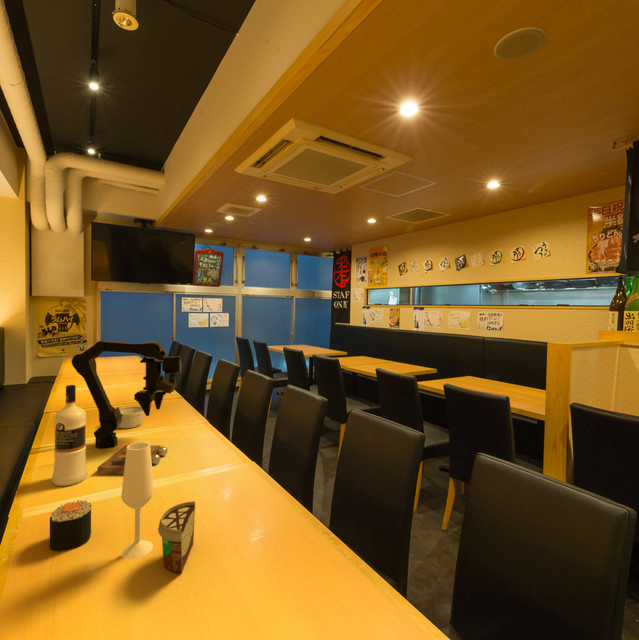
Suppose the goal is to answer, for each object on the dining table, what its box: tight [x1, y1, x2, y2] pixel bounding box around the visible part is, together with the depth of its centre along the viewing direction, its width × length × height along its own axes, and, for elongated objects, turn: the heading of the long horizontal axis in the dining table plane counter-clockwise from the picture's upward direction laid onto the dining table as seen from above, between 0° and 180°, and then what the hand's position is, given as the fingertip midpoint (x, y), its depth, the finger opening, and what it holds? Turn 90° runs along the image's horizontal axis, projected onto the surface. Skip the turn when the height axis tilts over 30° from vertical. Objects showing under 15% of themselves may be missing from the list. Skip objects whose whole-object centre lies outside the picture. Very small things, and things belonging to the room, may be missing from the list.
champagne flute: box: [120, 441, 155, 560], centre depth 84 cm, size 7×7×24 cm
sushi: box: [49, 499, 93, 552], centre depth 87 cm, size 8×8×8 cm
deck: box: [97, 444, 162, 476], centre depth 130 cm, size 13×19×4 cm
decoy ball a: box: [158, 446, 169, 457], centre depth 136 cm, size 3×3×3 cm
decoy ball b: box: [151, 454, 161, 465], centre depth 129 cm, size 3×3×3 cm
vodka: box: [51, 384, 89, 487], centre depth 115 cm, size 9×9×30 cm
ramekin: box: [117, 405, 145, 429], centre depth 170 cm, size 13×13×7 cm
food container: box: [157, 501, 196, 575], centre depth 81 cm, size 12×6×10 cm, turn 5°
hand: (153, 412), depth 147 cm, fingers open, 9 cm apart
